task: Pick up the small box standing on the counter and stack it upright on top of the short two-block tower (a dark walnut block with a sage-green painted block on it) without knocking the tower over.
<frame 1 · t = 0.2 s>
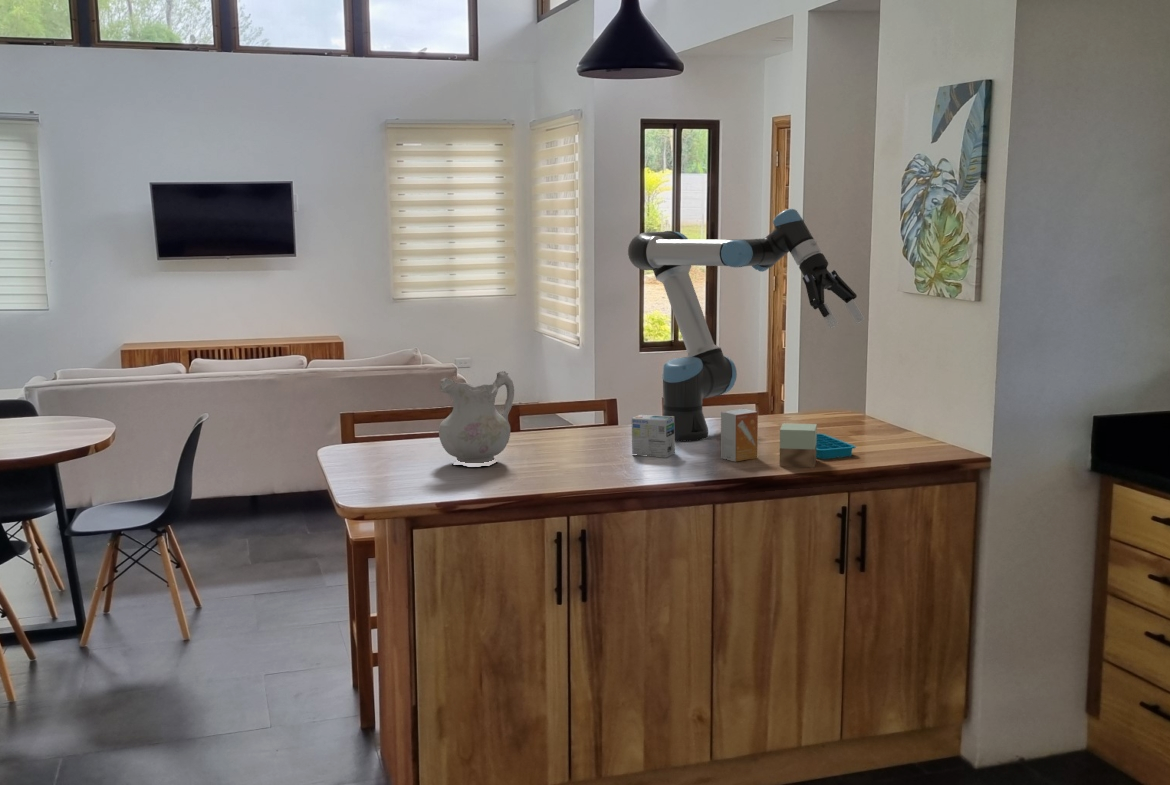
hand: (848, 323, 296), 35 cm above the table, fingers open, 13 cm apart
sage block: (798, 445, 287), point 5 cm above the table
light bulb box: (653, 455, 302), on the table
ceramic pitcher: (479, 463, 297), on the table
small box: (739, 459, 295), on the table
ice cube tray: (820, 452, 302), on the table
walnut block: (798, 463, 288), on the table
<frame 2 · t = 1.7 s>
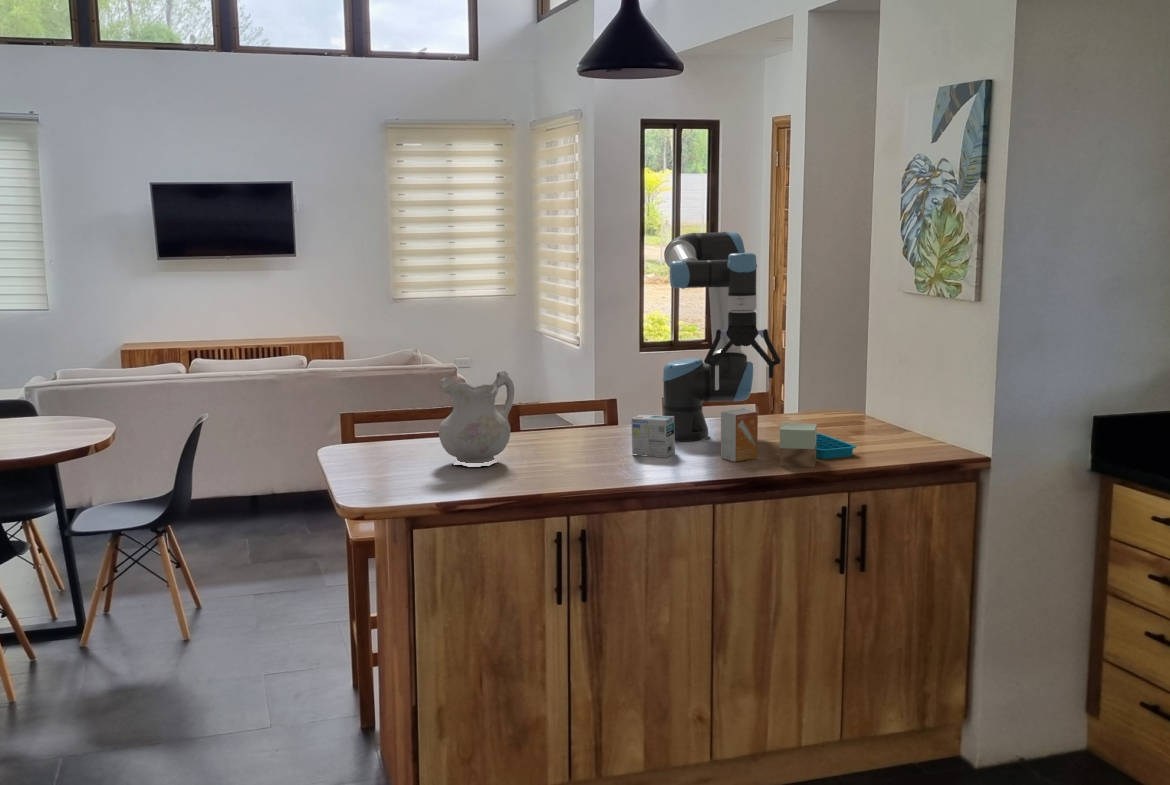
hand: (742, 389, 292), 19 cm above the table, fingers open, 13 cm apart
nothing on the table moved.
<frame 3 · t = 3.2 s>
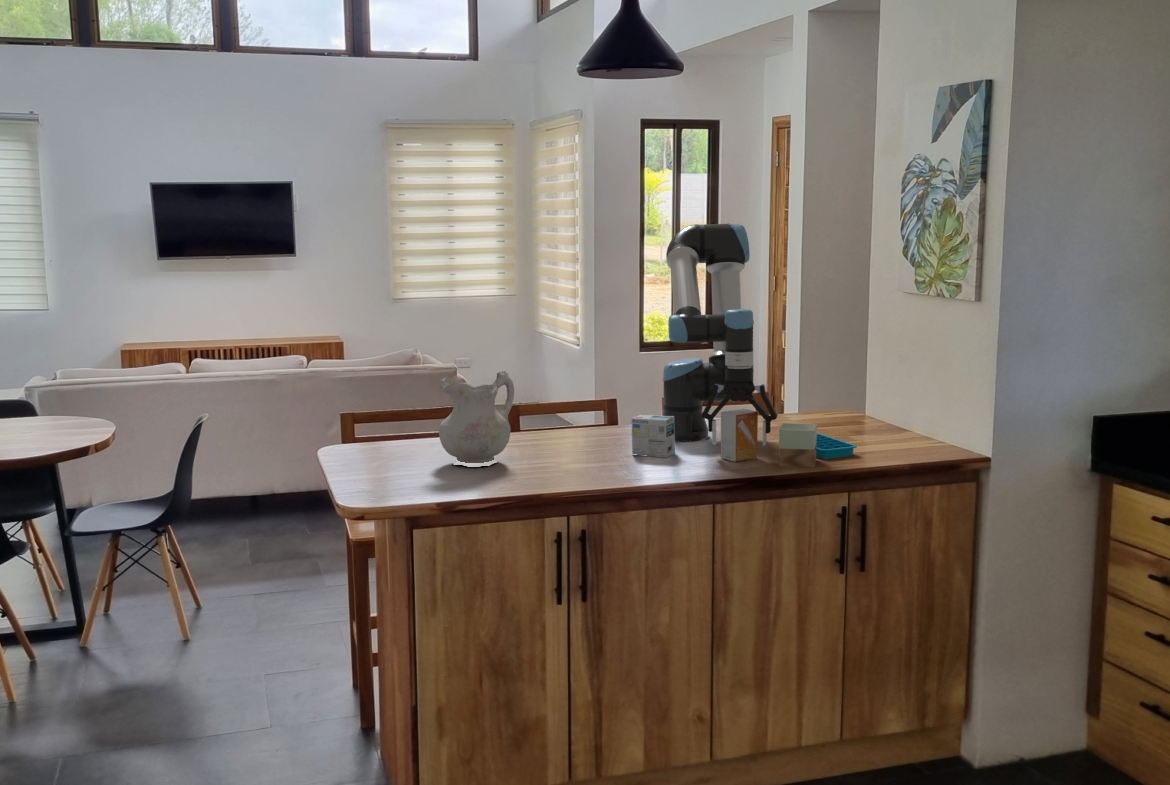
hand: (739, 444, 294), 4 cm above the table, fingers open, 13 cm apart
sage block: (798, 445, 287), point 5 cm above the table, touching walnut block
walnut block: (798, 463, 288), on the table, touching sage block
everything else where it was.
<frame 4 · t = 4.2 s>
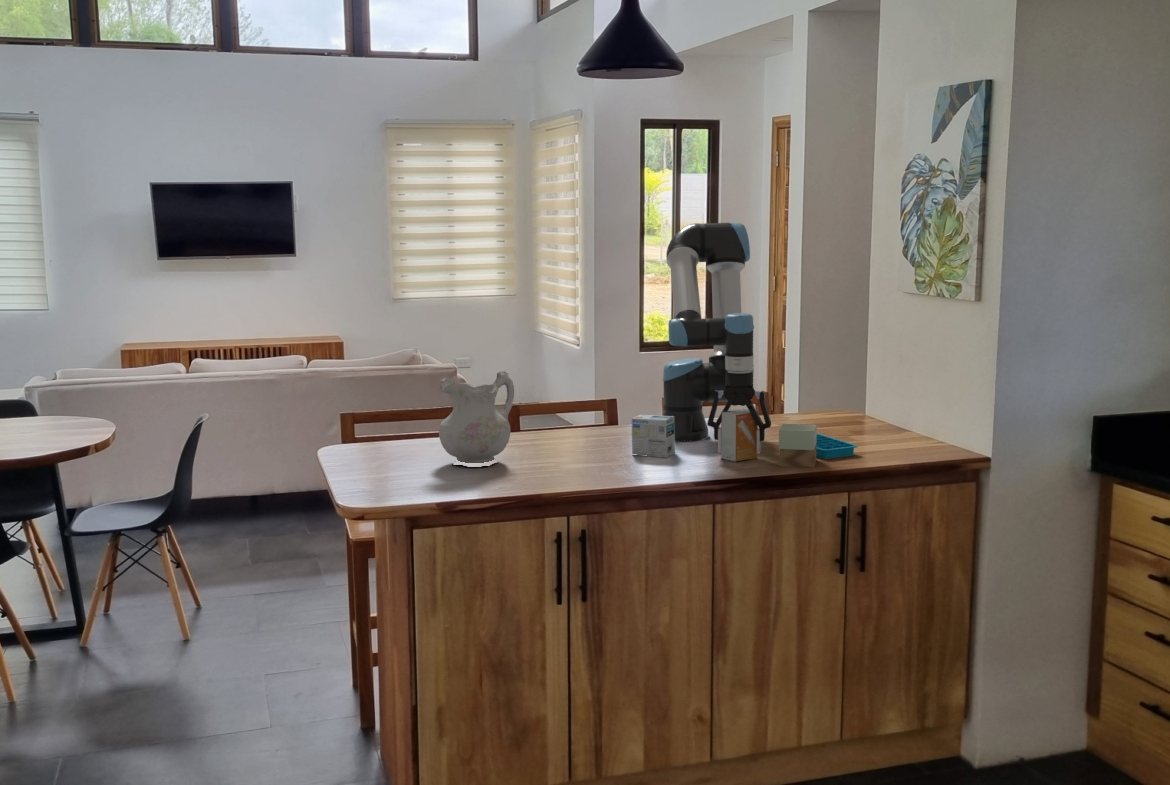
hand: (739, 452, 295), 2 cm above the table, fingers closed on small box, 10 cm apart
small box: (739, 458, 295), on the table, touching gripper
everything else where it was.
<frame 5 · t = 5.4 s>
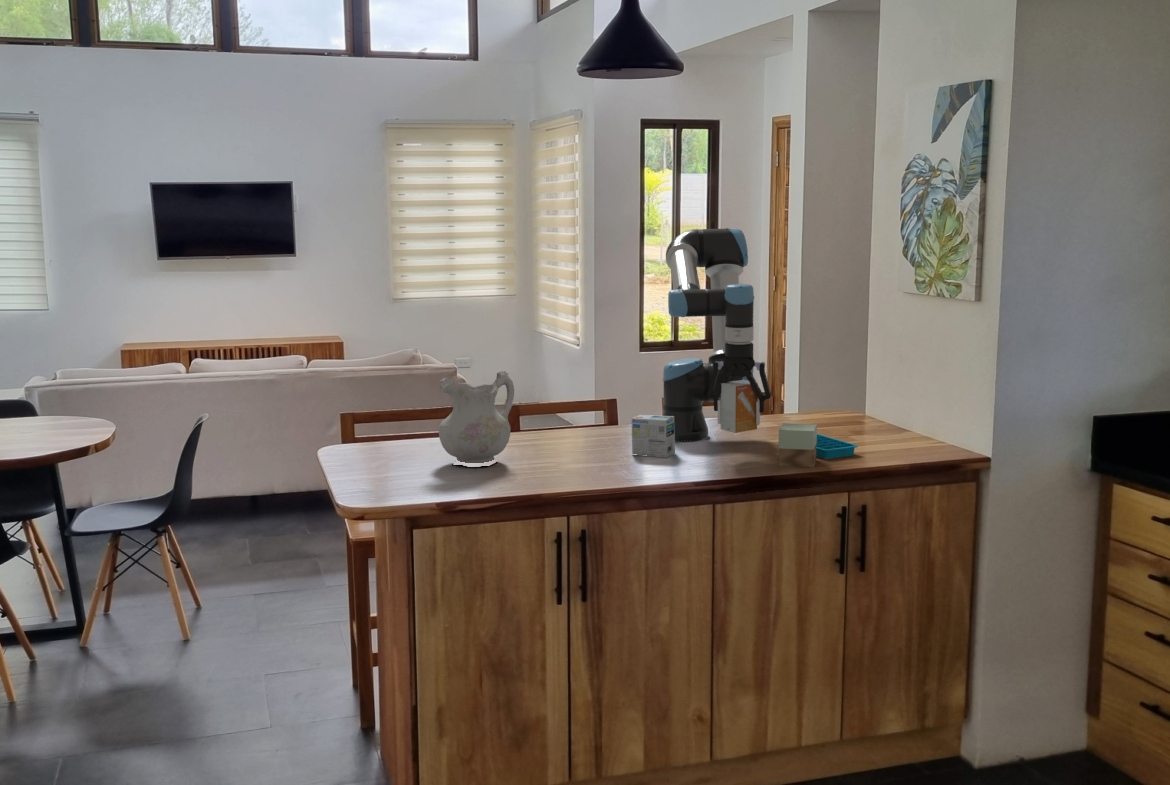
hand: (738, 423, 294), 10 cm above the table, fingers closed on small box, 10 cm apart
small box: (738, 430, 295), point 8 cm above the table, touching gripper
everything else where it was.
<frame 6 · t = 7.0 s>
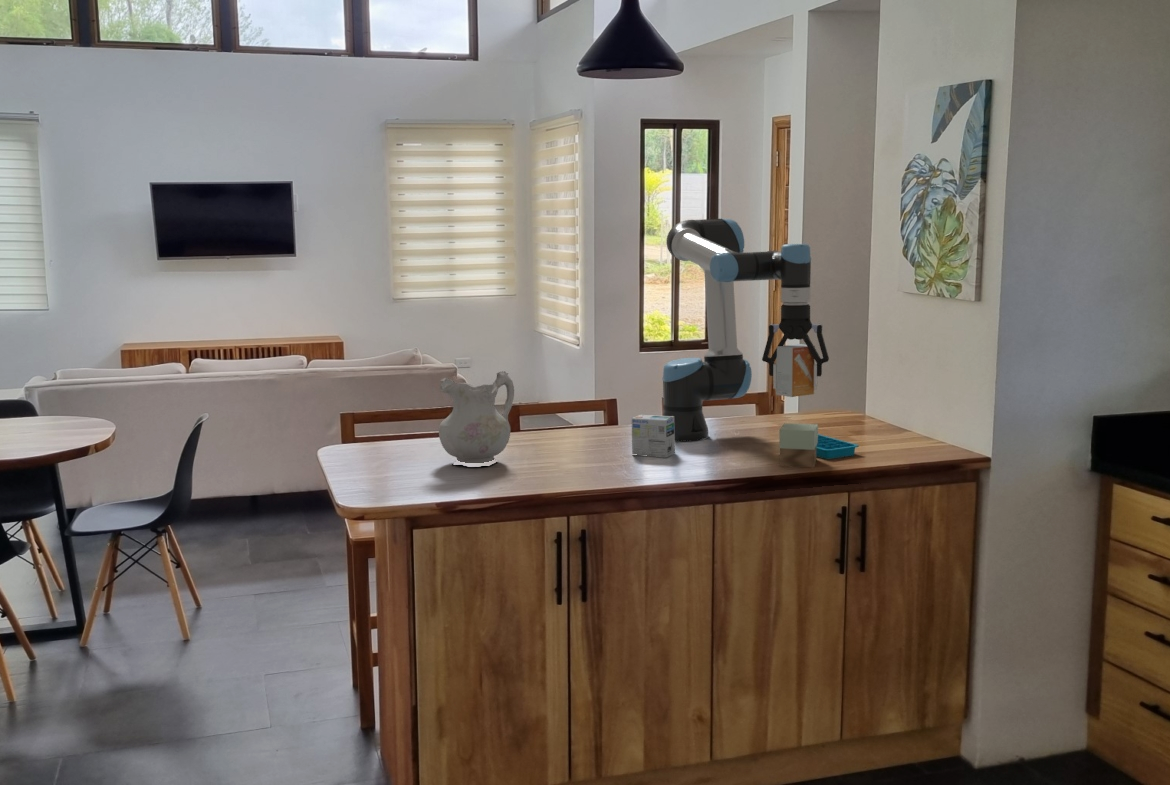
hand: (795, 388, 285), 20 cm above the table, fingers closed on small box, 10 cm apart
small box: (795, 395, 285), point 18 cm above the table, touching gripper
everything else where it was.
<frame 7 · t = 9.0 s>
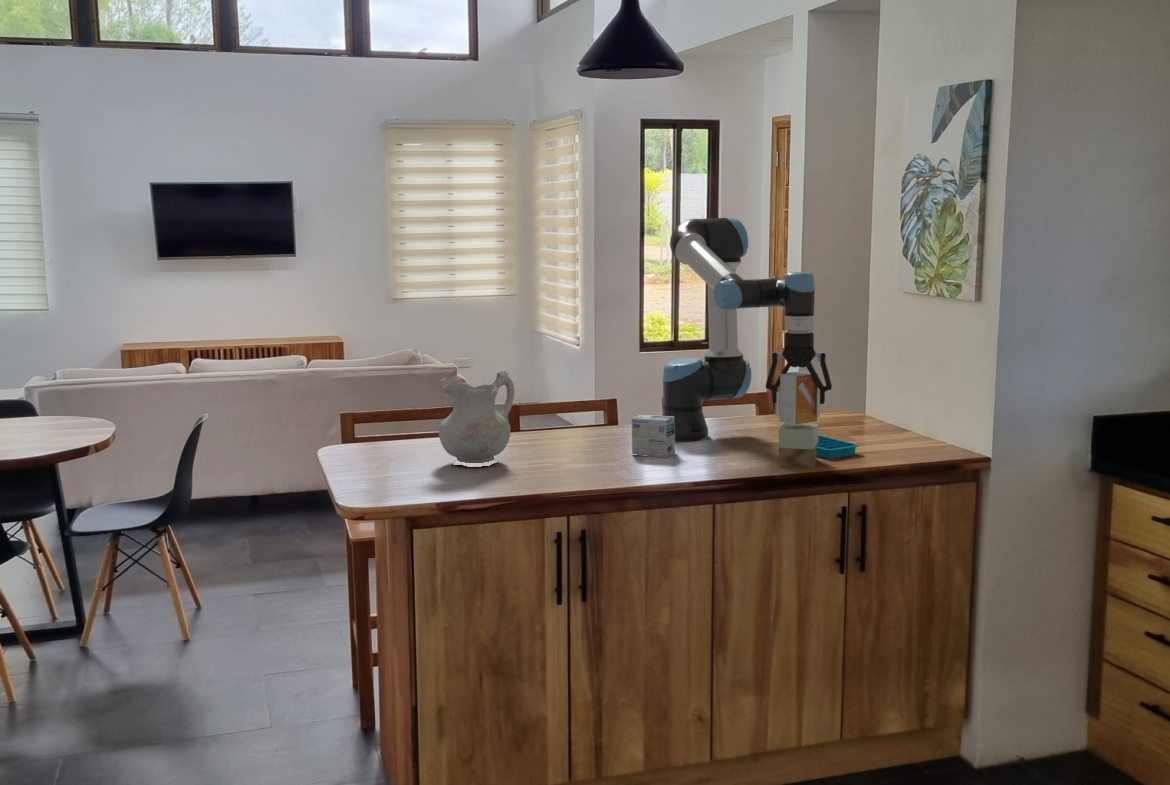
hand: (798, 415, 286), 13 cm above the table, fingers closed on small box, 10 cm apart
sage block: (798, 445, 288), point 5 cm above the table
small box: (798, 422, 286), point 11 cm above the table, touching gripper
walnut block: (797, 463, 289), on the table
when the fingers open (13 cm above the table, at t = 9.3 s): small box drops 1 cm, resting on sage block.
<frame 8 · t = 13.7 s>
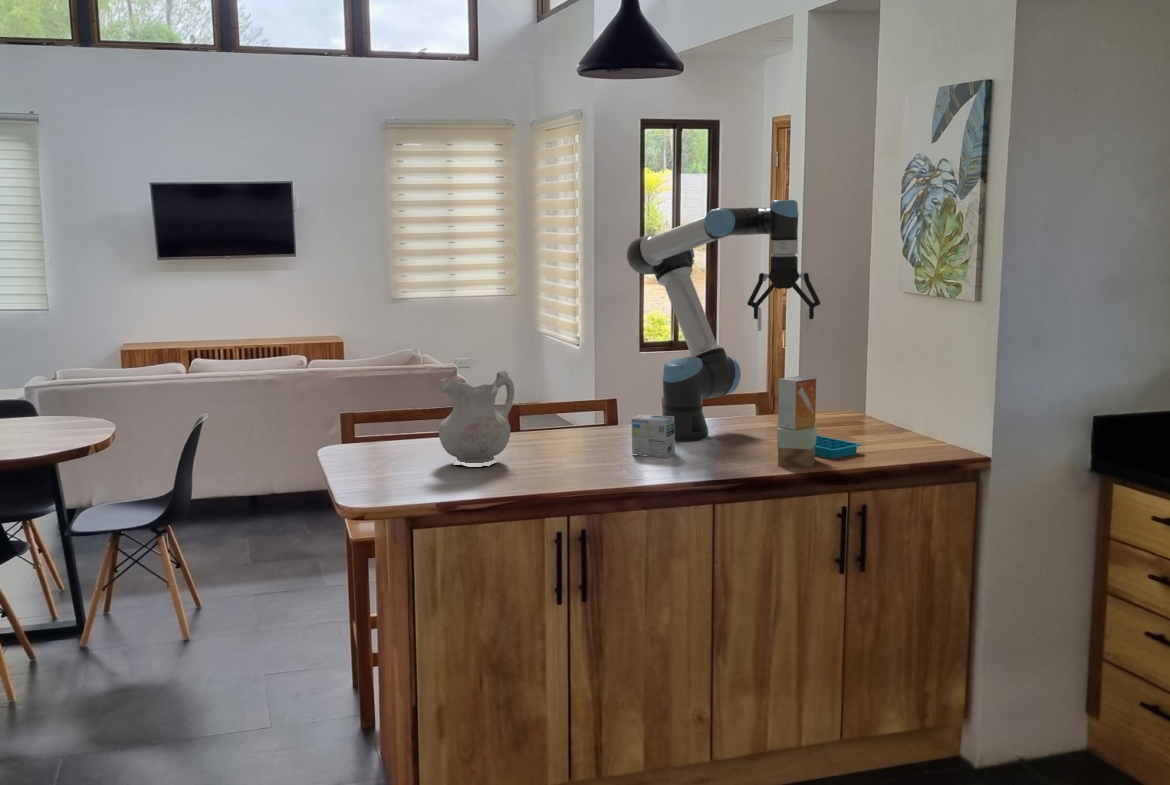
hand: (783, 330, 307), 33 cm above the table, fingers open, 13 cm apart
sage block: (797, 445, 288), point 5 cm above the table, touching small box, walnut block
small box: (796, 427, 287), point 9 cm above the table, touching sage block
walnut block: (796, 463, 289), on the table, touching sage block
at the end: small box inside the target area on the sage block (0.1 cm from its centre), point 4.8 cm above the sage block's base; small box tilted 0°; sage block 0.1 cm off-centre on the walnut block, point 5.0 cm above the walnut block's base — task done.
